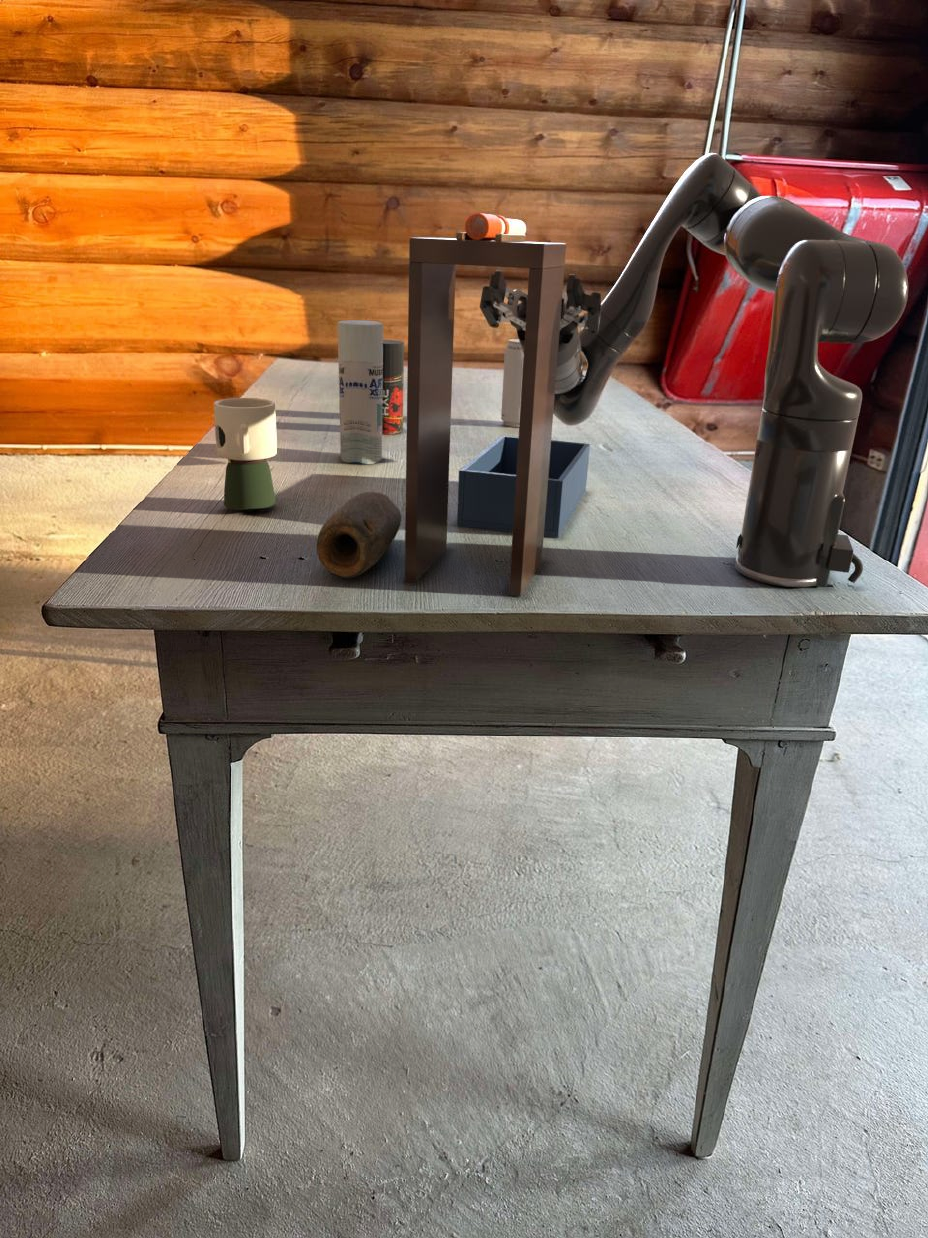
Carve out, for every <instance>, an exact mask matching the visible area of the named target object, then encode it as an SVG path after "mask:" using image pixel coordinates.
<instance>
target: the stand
mask: <svg viewBox="0 0 928 1238" xmlns="http://www.w3.org/2000/svg"><path fill="white" fill-rule="evenodd" d="M455 234H456V235H455V238H451V237H409V247H408V248H409V250H408V251H409V252H408V253H409V254H408V303H407V304H408V306H407V307H408V313H407V314H408V315H407V371H406V372H407V375H406V376H407V377H406V378H407V379H406V380H407V382H406V443H405V444H406V445H405V446H406V448H405V451H406V452H405V510H404V511H405V513H404V514H405V515H404V517H405V518H404V522H405V523H404V577H403V578H404V582H409V583H417V582H418V580H420V579H421V577H422V576H423V575H424V574H425V573H426V572H427V571H428V570H429V569H430V568H431V566H433V565H434V564H435V562H437V560H439V558H440V557H441V556H442V555H443V554H444V553H445V552H446V551H447V544H448V542H447V541H448V516H449V515H448V513H449V511H448V510H449V486H450V485H449V483H450V454H451V451H450V450H451V427H452V425H451V424H452V423H451V422H452V397H453V395H452V394H453V368H454V367H453V365H454V364H453V363H454V337H455V335H454V334H455V307H456V305H455V303H456V277H457V275H456V273H457V272H456V271H457V266H474V267H475V266H476V267H477V266H478V267H491V268H493V267H495V268H512V269H528V282H527V295H528V297H527V313H526V329H525V344H524V360H523V376H522V392H521V408H520V424H519V427H518V437H519V440H518V455H517V471H516V487H515V503H514V519H513V532H512V537H511V552H510V567H509V569H510V570H509V585H508V596H511V597H518V598H520V597H522V595H523V593H524V591H526V588H527V587H528V585H529V583H530V582H531V581H532V579H533V578H534V575H535V574H536V572H537V571H538V569H539V567H540V565H541V564H542V561H543V552H544V540H545V539H544V537H545V536H544V526H545V513H546V500H547V487H548V474H549V462H550V449H551V440H552V435H553V423H554V414H553V410H554V397H555V384H556V371H557V358H558V345H559V332H560V319H561V306H562V295H563V294H564V291H563V290H564V280H565V279H564V278H565V264H566V252H567V244H566V243H565V242H564V243H563V242H539V241H526V240H527V235H526V234H524V235H515V234H496V235H495V240H491V241H488V240H473V239H471V238H470V237H469V236H468V235H467V233H466V231H465V232H462V231H457V232H456V233H455Z"/></svg>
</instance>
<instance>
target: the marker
mask: <svg viewBox="0 0 928 1238" xmlns="http://www.w3.org/2000/svg"><path fill="white" fill-rule="evenodd" d="M464 230H465V232H466V233H467V235H468V236H469V237H470V238H471V239H473V240H488V241H491V240H495V235H496V234H515V235H526V232H527V225H526V224H525V222H524V221H522V220H520V219H515V218H506V217H505V216H503V215H500V214H490V213H482V212H475V213H472V214H470V215H469V216H468V217H467V218H466V220H465V224H464Z"/></svg>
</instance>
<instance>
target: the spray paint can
mask: <svg viewBox="0 0 928 1238" xmlns="http://www.w3.org/2000/svg"><path fill="white" fill-rule="evenodd" d="M383 340H384V323H383V322H381V321H374V320H362V319H361V320H359V319H357V320H352V319H351V320H350V319H349V320H339V321H338V322H337V351H338V353H337V354H338V359H337V360H338V397H339V398H338V399H339V403H338V404H339V433H340V435H339V447H340V460H341V461H342V462H344V463H347V464H350V465H351V464H352V465H372V464H378V463H380V462H382V458H383V434H382V389H383Z"/></svg>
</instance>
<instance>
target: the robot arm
mask: <svg viewBox="0 0 928 1238" xmlns="http://www.w3.org/2000/svg"><path fill="white" fill-rule="evenodd" d="M681 227H682V228H684V229H685V230H686V231H687V232H689V234H691V235H692V236H693V237H695V238H696V239H697V240H698V241H699V242H700V243H701V245H703V246H705V247H706V248H708V249H709V250H711V251H713V252H716V253H718V254H721V255H722V256H725V258H726V260H727V262H728V264H729V266H730V267H731V268H732V269H733V270H734V271H735V272H736V273H737V275H739V276H741V277H742V278H743V279H744V280H745V281H746V282H748V283H749V284H750V285H752V286H754V287H755V288H757V289H758V290H761V291H764V292H767V293H770V294H774V295H773V303H772V313H771V320H770V321H771V322H770V332H769V338H768V339H769V340H768V347H767V348H768V350H767V355H766V361H765V372H764V394H763V401H762V408H761V413H760V419H759V423H758V426H759V427H758V431H757V437H756V441H755V442H756V443H755V448H754V453H753V454H754V455H753V461H752V467H751V473H750V479H749V485H748V490H747V497H746V503H745V509H744V515H743V522H742V527H741V533H740V534H739V536H738V537H737V540H736V547H735V549H737V555H736V558H735V564H734V568H735V570H736V571H737V572H738V573H739V574H741V575H742V576H745V577H746V578H749V579H751V580H754V581H756V582H760V583H763V584H768V585H773V586H779V587H787V588H789V587H790V588H807V587H825V588H826V587H828V583H829V578H830V574H831V571H832V572H839V573H848V574H849V573H850V570H851V565H852V564H853V565H854V570H853V572H852V573H851V574H850V575H849V577H848V578H847V581H848V582H850V583H853V584H855V583H856V582H857V580H858V579H859V578H861V576H862V573H863V571H864V565H863V561H862V560H861V559H860V557H858V556H857V555H856V554H855V553H854V552H855V551H854V548H853V545H852V543H851V541H850V538H849V535H847V534H841V533H840V534H839V531H840V527H841V522H842V517H843V512H844V507H845V502H846V498H845V495H844V493H843V492H844V489H845V484H846V479H847V474H848V470H849V465H850V460H851V459H850V458H851V454H852V449H853V445H854V441H855V435H856V432H857V425H858V420H859V416H860V412H861V406H862V402H863V392H862V389H861V388H860V387H859V386H857V385H856V384H854V383H852V382H850V381H847V380H845V379H843V378H840V377H838V376H835V375H834V374H832V373H830V372H829V371H827V370H826V368H824V367H823V366H822V365H821V363H820V361H819V356H818V351H819V350H818V349H819V343H827V344H828V343H829V344H830V343H831V344H862V343H867V342H872V341H874V340H878V339H879V338H880V337H883V336H884V335H886V334H887V333H889V332H890V331H891V330H892V329H893V328H894V327H895V326H896V324H897V323H898V321H899V320H900V319H901V317H902V315H903V313H904V311H905V309H906V306H907V302H908V297H909V280H908V279H909V278H908V274H907V269H906V267H905V265H904V262H903V260H902V258H901V257H900V256H899V254H898V252H896V251H895V250H894V249H893V248H892V247H891V246H889V245H887V244H885V243H881V242H877V241H872V240H869V239H864V238H861V237H856V236H853V235H851V234H848V233H846V232H843V231H841V230H840V229H838V228H836V227H835V226H833V225H832V224H831V223H829V222H826V221H825V220H824V219H822V218H820V217H818V216H817V215H814V214H812V213H811V212H809V211H807V210H806V209H805V208H804V207H802V206H800V205H799V204H796V203H794V202H792V201H791V200H789V199H787V198H784V197H782V196H777V195H776V196H774V195H762V193H760V191H759V190H758V189H757V188H756V187H755V186H754V185H753V184H752V183H751V182H750V181H749V180H748V179H747V178H746V177H745V176H743V174H741V173H740V171H738V170H737V169H736V168H735V167H734V166H733V165H731V164H730V163H729V162H728V161H727V160H726V159H725V158H724V157H723V156H721V155H720V154H718V153H716V152H709V153H707V154H704V155H702V156H701V157H699V158H698V159H696V160H695V161H694V162H693V163H692V164H691V165H690V166H689V167H688V168H687V169H686V170H685V171H684V173H683V174H682V175H681V177H680V178H679V179H678V181H677V182H676V184H674V186H673V188H672V190H671V191H670V193H669V194H668V195H667V198H666V199H665V201H664V202H663V204H662V206H661V207H660V209H659V210H658V212H657V214H656V215H655V217H654V218H653V220H652V222H651V223H650V226H649V227H648V228H647V230H646V232H645V233H644V235H643V237H642V239H641V240H640V241H639V244H638V246H637V247H636V249H635V251H634V253H632V255H631V258H630V259H629V261H628V263H627V265H626V266H625V268H624V270H623V271H622V273H621V274H620V277H619V278H618V279H617V281H616V282H615V283H614V286H613V287H612V288H611V290H610V291H609V292H608V294H607V295H606V297H605V298H604V299H603V300H602V294H601V293H599V292H596V291H594V292H591V293H590V294H587V293H586V290H585V289H584V286H583V281H582V280H581V279H580V278H577V275H576V274H574V273H573V274H572V273H569V274H568V276H567V277H568V278H567V283H566V292H565V293H562V306H561V319H560V332H559V345H558V358H557V371H556V384H555V397H554V410H553V416H555V417H556V418H557V419H558V420H559V421H560V422H561V423H563V424H564V425H566V426H570V427H571V426H578V425H580V424H582V423H584V422H585V421H586V420H588V418H590V417H591V416H592V414H593V413H594V411H595V410H596V408H597V406H598V404H599V402H600V400H601V397H602V394H603V392H604V390H605V387H606V385H607V383H608V381H609V379H610V377H611V375H612V373H613V371H614V370H615V368H616V366H617V364H618V362H619V361H620V360H621V359H622V357H623V356H624V354H625V353H626V352H627V351H628V349H630V347H631V346H632V344H634V342H635V341H636V340H637V339H638V338H639V336H640V335H641V334H642V332H643V330H644V329H645V328H646V326H647V324H648V323H649V320H650V319H651V316H652V313H653V310H654V307H655V306H654V305H655V301H656V296H657V291H658V284H659V278H660V275H661V269H662V266H663V262H664V258H665V255H666V253H667V250H668V248H669V246H670V244H671V242H672V240H673V239H674V237H675V236H676V234H677V232H678V231H679V230H680V228H681ZM489 279H490V280H489V284H488V286H487V285H484V286H483V287H482V290H481V297H480V302H479V309H480V311H481V312H482V314H483V316H484V318H485V320H486V321H487V324H488V326H489V327H491V328H493V329H497V328H499V326H500V323H510V325H511V326H512V327H514V328H515V330H516V335H517V339H519V341H520V344H521V347H522V352H523V354H524V344H525V329H526V313H527V297H528V293H525V292H524V291H522V290H520V289H519V288H517V289H514V290H513V289H511V288H510V287H508V286H507V282H506V279H505V276H504V273H503V270H495V271H494V274H491V275H490V278H489ZM505 298H507V302H505ZM519 302H520V303H519ZM583 311H584V313H583ZM581 313H583V315H579V314H581ZM579 328H581V329H580V330H579ZM582 355H583V356H582ZM582 357H584V358H585V360H586V364H587V365H586V371H585V374H583V373H584V362H583V358H582Z"/></svg>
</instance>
